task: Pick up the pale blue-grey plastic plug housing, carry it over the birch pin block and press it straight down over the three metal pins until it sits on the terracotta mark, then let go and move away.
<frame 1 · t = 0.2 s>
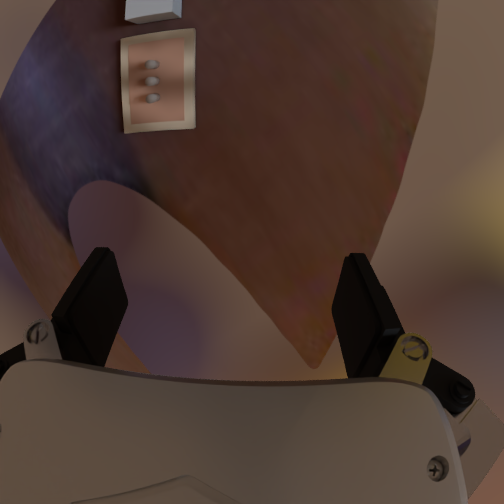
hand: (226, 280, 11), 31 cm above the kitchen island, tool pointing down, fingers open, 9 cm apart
pin block: (158, 80, 32), on the kitchen island
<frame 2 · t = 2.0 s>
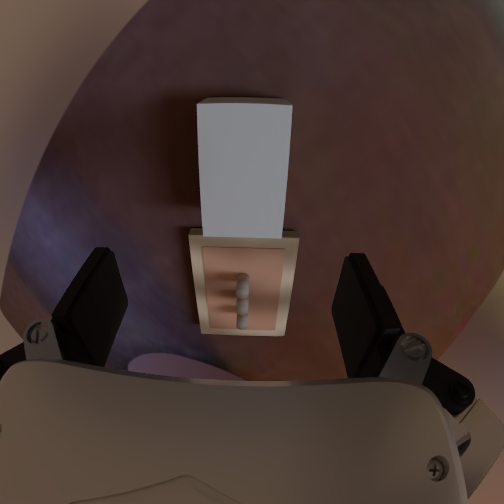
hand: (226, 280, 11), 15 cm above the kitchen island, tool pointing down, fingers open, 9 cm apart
plug housing: (245, 156, 23), on the kitchen island
pin block: (243, 285, 31), on the kitchen island
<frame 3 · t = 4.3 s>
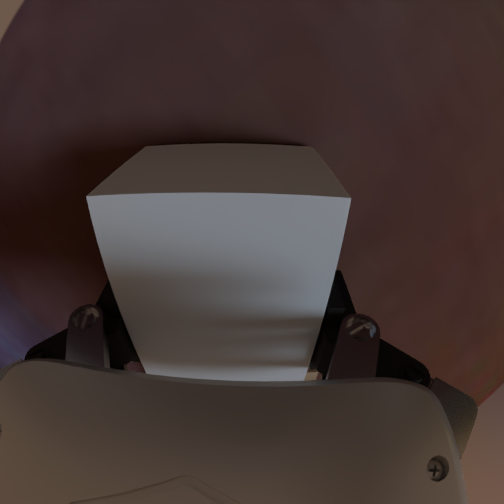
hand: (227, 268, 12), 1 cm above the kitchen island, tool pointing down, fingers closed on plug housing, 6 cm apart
plug housing: (228, 260, 12), on the kitchen island, touching gripper
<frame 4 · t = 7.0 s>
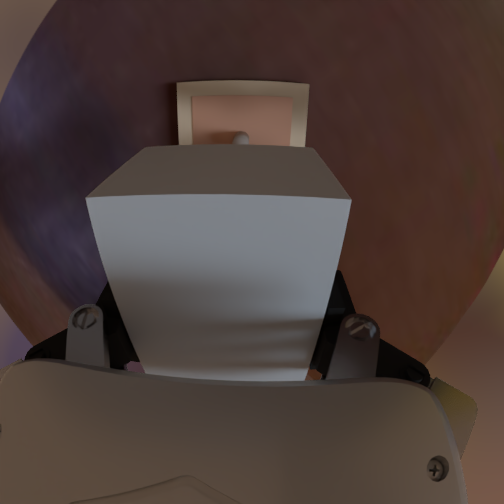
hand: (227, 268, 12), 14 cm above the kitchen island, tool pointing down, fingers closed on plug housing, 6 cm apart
plug housing: (228, 261, 12), point 14 cm above the kitchen island, touching gripper
pin block: (241, 161, 24), on the kitchen island
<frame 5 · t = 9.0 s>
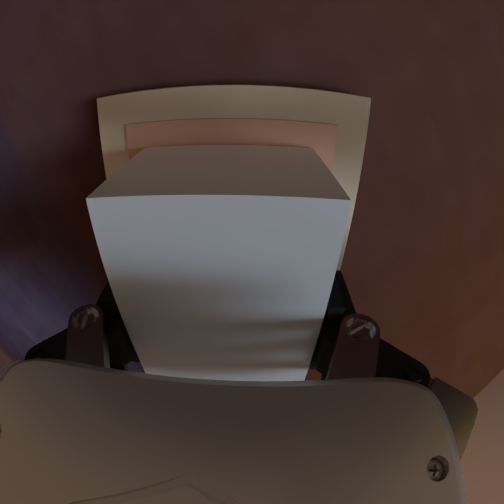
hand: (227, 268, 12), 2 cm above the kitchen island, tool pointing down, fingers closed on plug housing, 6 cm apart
plug housing: (228, 261, 12), point 1 cm above the kitchen island, touching gripper
pin block: (231, 241, 14), on the kitchen island
when the fingers open (2 cm above the kitchen island, at t = 10.2 s): plug housing stays where it is, resting on pin block.
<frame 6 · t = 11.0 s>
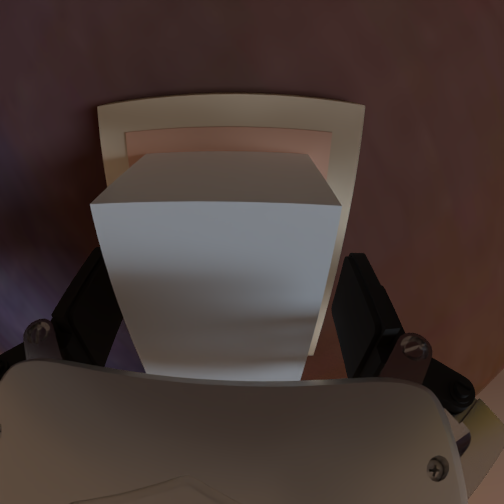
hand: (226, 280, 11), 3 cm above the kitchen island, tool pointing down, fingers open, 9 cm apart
plug housing: (226, 264, 13), point 1 cm above the kitchen island, touching pin block
pin block: (229, 246, 14), on the kitchen island
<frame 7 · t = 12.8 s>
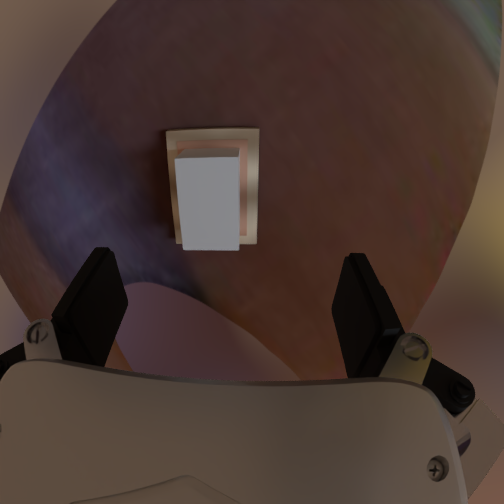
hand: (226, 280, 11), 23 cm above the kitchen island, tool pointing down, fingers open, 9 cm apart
plug housing: (213, 191, 32), point 1 cm above the kitchen island, touching pin block
pin block: (214, 186, 33), on the kitchen island
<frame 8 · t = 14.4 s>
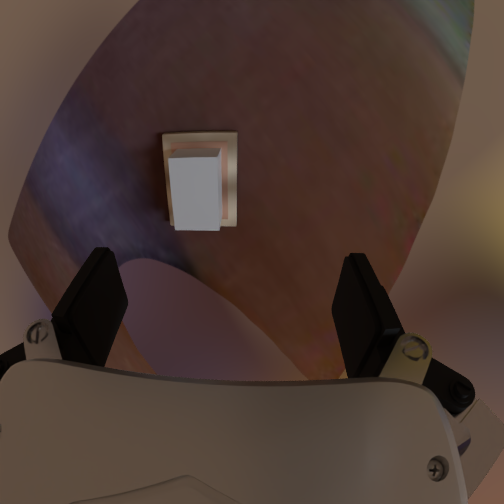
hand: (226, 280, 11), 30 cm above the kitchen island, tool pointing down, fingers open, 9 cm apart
plug housing: (200, 182, 39), point 1 cm above the kitchen island, touching pin block
pin block: (201, 178, 40), on the kitchen island
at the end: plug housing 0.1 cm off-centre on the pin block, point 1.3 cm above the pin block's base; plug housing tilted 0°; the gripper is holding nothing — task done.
